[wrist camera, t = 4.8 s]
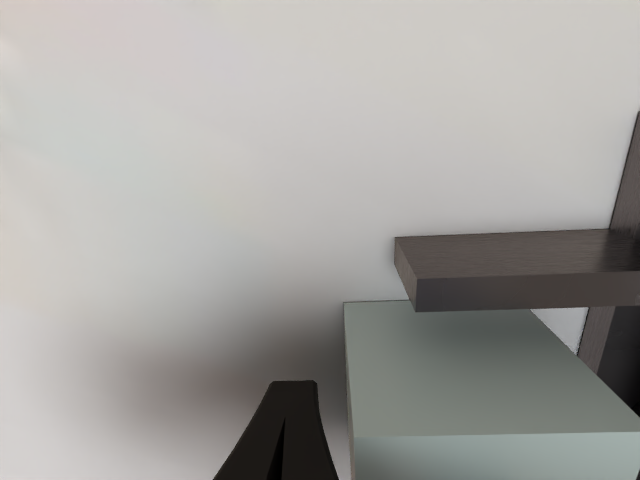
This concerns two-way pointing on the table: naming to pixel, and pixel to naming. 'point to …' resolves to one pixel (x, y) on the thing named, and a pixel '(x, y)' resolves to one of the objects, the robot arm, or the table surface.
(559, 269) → the grey electric motor
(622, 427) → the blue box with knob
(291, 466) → the robot arm
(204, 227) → the table surface
